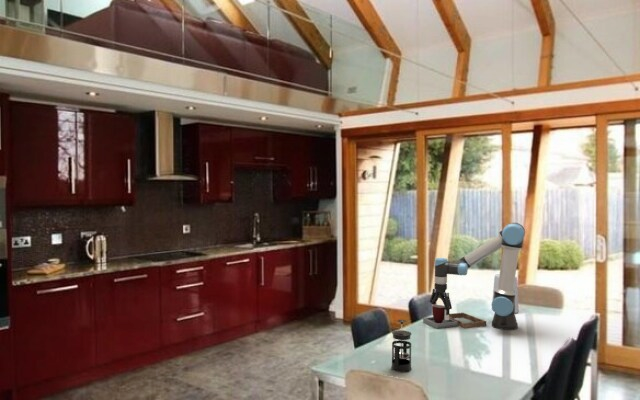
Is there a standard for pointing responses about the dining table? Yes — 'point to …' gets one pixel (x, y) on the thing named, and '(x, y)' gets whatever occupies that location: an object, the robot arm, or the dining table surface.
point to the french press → (401, 357)
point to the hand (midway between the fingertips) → (440, 317)
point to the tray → (444, 324)
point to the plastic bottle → (496, 280)
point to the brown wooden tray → (475, 323)
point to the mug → (438, 313)
